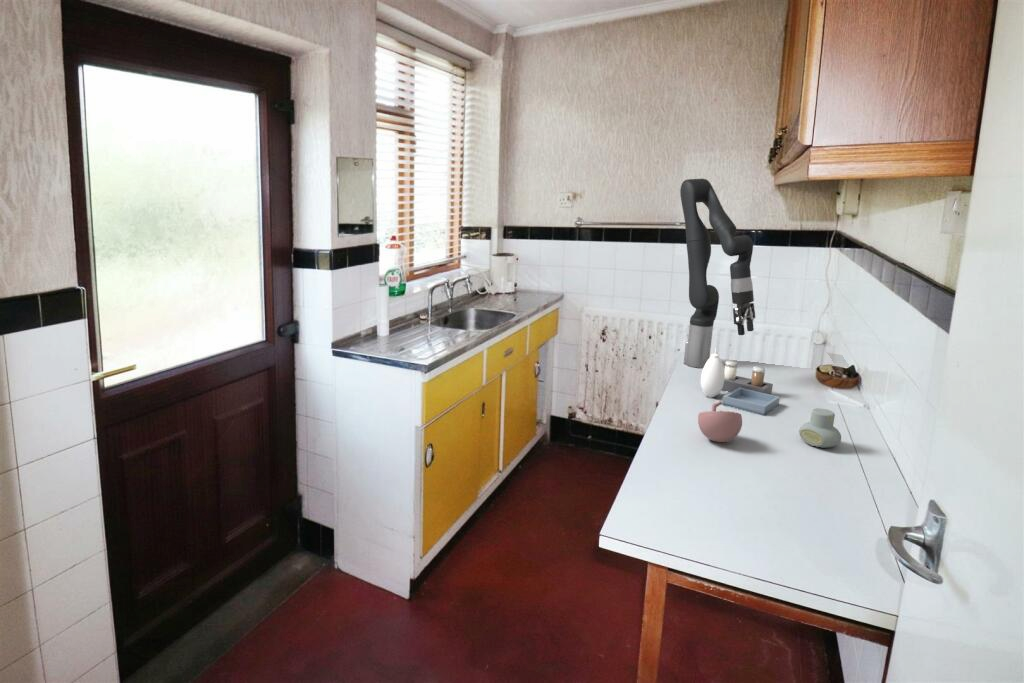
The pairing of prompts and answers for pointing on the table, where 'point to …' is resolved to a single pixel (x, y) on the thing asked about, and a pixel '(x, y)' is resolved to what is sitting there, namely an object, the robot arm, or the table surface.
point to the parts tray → (751, 401)
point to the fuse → (730, 370)
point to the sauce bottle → (712, 376)
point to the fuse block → (746, 385)
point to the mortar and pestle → (720, 424)
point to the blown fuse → (758, 376)
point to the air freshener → (820, 429)
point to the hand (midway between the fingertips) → (746, 333)
